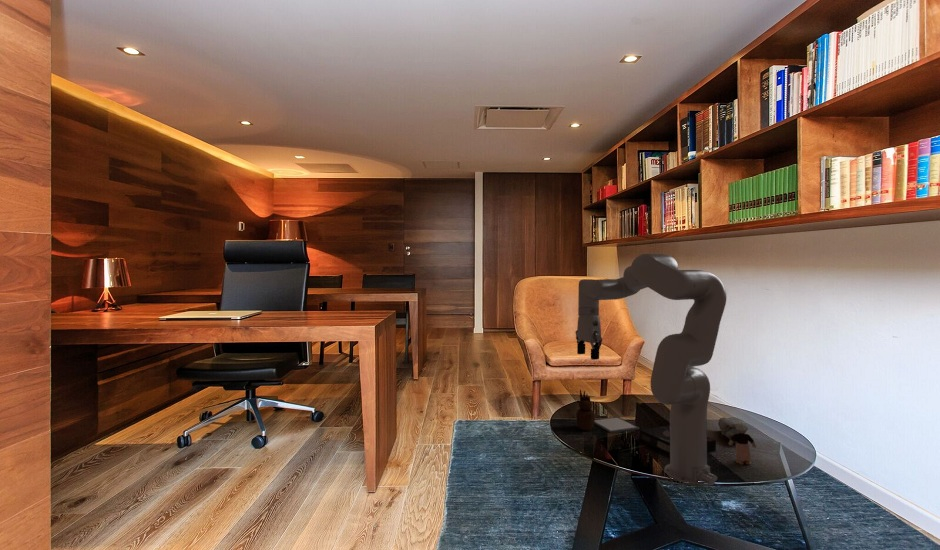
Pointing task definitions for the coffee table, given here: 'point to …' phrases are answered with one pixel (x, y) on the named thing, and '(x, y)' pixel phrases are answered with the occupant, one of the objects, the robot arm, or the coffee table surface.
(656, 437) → the portable cd player
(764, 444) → the coffee table surface
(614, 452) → the coffee table surface
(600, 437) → the coffee table surface
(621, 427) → the card
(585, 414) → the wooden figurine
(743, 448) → the toy figure
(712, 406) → the coffee table surface
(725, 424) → the decorative bird
